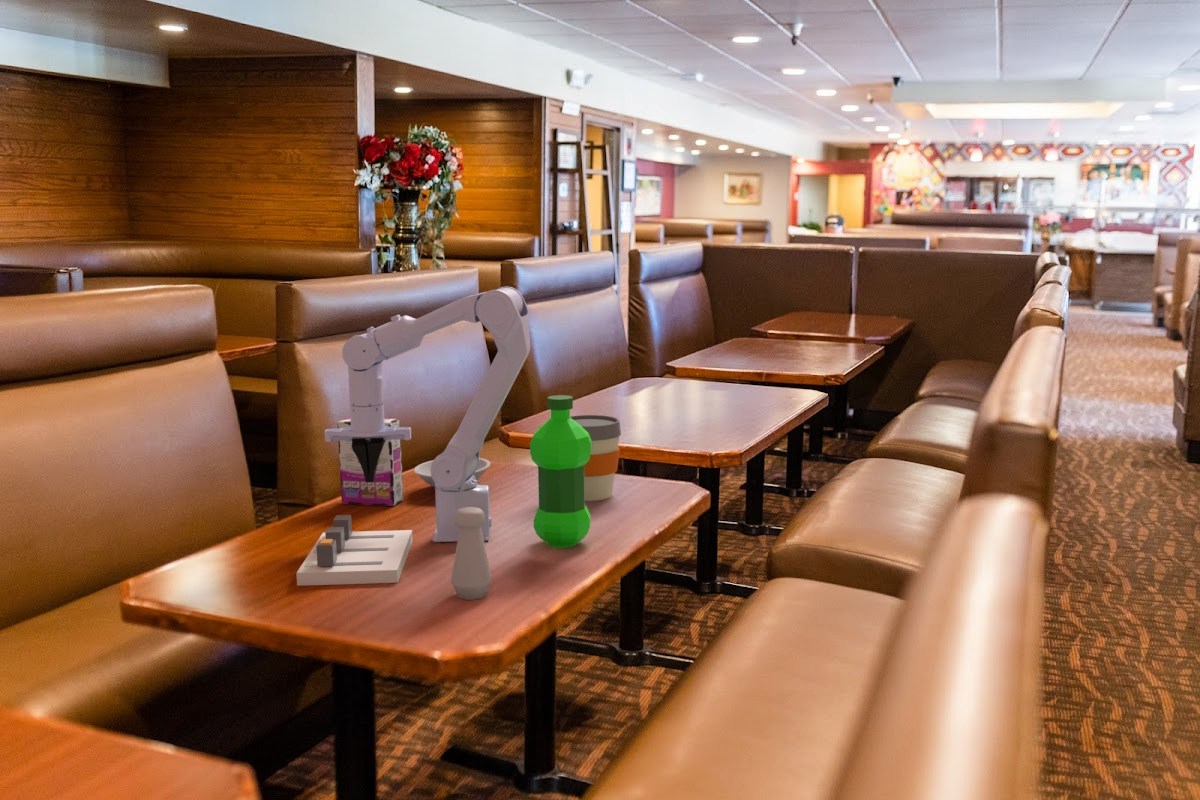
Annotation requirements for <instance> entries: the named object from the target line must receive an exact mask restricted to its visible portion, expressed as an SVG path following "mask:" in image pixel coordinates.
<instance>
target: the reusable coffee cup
mask: <svg viewBox="0 0 1200 800" xmlns="http://www.w3.org/2000/svg"><path fill="white" fill-rule="evenodd" d="M570 417H571V418H572V419H573V420H574V421H576V422H577V423H578V424H579V425H580V426H582V427H583V428H584V429H585V430H586V431H587V432H588V433H589V435H590V438H591V454H590V459H589V461H588V462H587V463H586V464H585V465H584V486H585V502H594V501H603V500H606V499H607V500H608V499H609V498H611V497H612V496H613V490H614V483H615V473H616V472H617V471H618V466H619V459H620V449H621V448H620V447H619V442H620V441H619V440H620V436H621V435H622V431H621V423H620V419H619V418H617V417H614V416H610V415H602V414H601V415H600V414H583V415H582V414H579V415H570Z"/></svg>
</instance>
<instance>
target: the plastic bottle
mask: <svg viewBox="0 0 1200 800" xmlns="http://www.w3.org/2000/svg"><path fill="white" fill-rule="evenodd" d="M573 398H574V397H573V396H571V395H567V394H566V395H564V394H558V395H550V396H547V410H550V418H549V419H547V420H546V421H545V422H544V423H543V424H542V425H540V427H539V428H538V429H536V430H535V432H533V435H532V437H531V441H530V444H529V453H530V458H531V460H532V462H533V463H534V464H535V465H536V466H537V468H538V469H537V475H538V476H537V478H538V481H537V482H538V483H537V484H538V507H537V509H536V512H535V514H534V518H533V529H534V531H535V534H536V535H537V537H539V538H540V539H541V540H542V541H543V542H545V544H546V545H547V546H549V547H551V548H559V549H566V548H573V547H575V546H577V545H578V544H579V543H580V542H581V541H582V540H583V539H584V538H585V537H586V536H587V535H588V533H589V531H590V528H591V514H590V511H589V509H588V507H587V505H586V501H585V486H584V465H585V464H586V463H587V462H588V461H589V459H590V454H591V438H590V435H589V433H588V432H587V431H586V430H585V429H584V428H583V427H582V426H580V425H579V424H578V423H577V422H576V421H574V420H573V419H572V418H571V417H570V416H571V412H570V411H571V410H573V408H574V399H573Z"/></svg>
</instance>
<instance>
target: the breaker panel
mask: <svg viewBox="0 0 1200 800" xmlns="http://www.w3.org/2000/svg"><path fill="white" fill-rule="evenodd" d="M325 532H326V531H325ZM325 532H324V531H323V532H322V533H321V535H320V537H319V538H318V539H317V541H316V543H315V544H314V545H313V547H312V549H311V550H310V552H309V553H308V554H307V556H306V558H305V560H304V561H303V563H302V564H301V565H300V567H299V568H298V570H297V572H296V585H297V586H326V585H327V586H328V585H329V586H330V585H332V586H333V585H361V584H362V585H365V584H367V585H368V584H391V583H392V584H393V583H394V584H396V583H399V580H400V579H401V578H400V577H401V575H402V572H403V569H404V566H405V564H406V561H407V558H408V555H409V553H410V549H411V547H412V544H413V542H414V541H413V539H414V538H413V529H405V530H404V529H401V530H400V529H399V530H398V529H397V530H367V531H352V534H351V536H350V538H349V539H345V547H344V549H343V550H342V552H337V560H336V562H335V564H334V566H317V548H316V546H317V544H318V543H319V541H320V540H322V539H326V535H325Z"/></svg>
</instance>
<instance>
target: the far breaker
mask: <svg viewBox="0 0 1200 800" xmlns="http://www.w3.org/2000/svg"><path fill="white" fill-rule="evenodd" d="M332 523H333V527H344V537H345V539H349V538H350V536H351V534H352V532H353V528H352V525H353V524H352V515H351V514H340V515H339V514H336V515H335V517H334V518H333V521H332Z"/></svg>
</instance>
